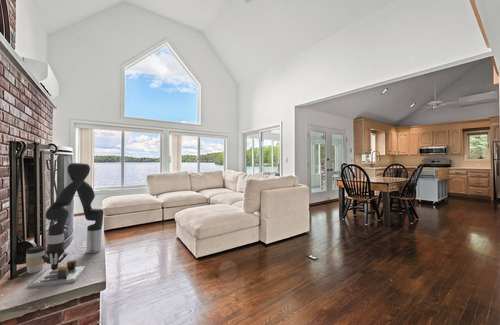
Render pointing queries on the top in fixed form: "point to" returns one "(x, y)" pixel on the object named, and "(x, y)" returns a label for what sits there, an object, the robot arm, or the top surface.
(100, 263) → the top surface
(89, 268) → the top surface
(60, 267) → the toggle
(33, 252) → the coffee cup
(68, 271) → the breaker panel
